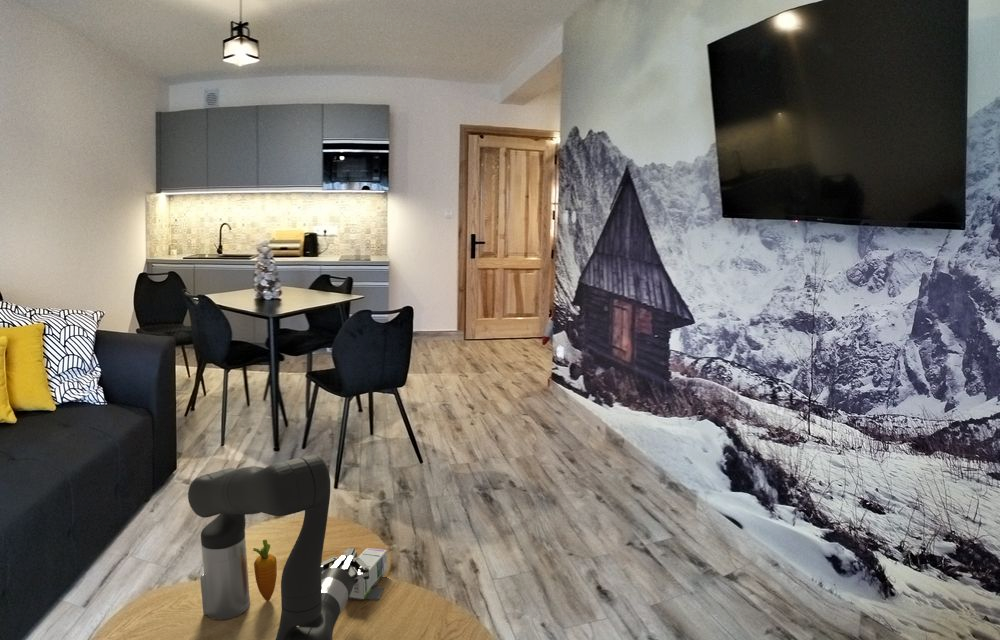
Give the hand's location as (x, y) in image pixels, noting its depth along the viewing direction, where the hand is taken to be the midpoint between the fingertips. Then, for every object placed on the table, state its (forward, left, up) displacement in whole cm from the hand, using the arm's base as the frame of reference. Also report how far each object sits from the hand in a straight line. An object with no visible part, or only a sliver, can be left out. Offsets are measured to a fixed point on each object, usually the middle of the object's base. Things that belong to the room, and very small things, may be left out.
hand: (351, 551), depth 152 cm
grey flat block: (+2, +2, -12) cm, 12 cm away
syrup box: (0, -1, -8) cm, 8 cm away
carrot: (-20, -2, -12) cm, 24 cm away
